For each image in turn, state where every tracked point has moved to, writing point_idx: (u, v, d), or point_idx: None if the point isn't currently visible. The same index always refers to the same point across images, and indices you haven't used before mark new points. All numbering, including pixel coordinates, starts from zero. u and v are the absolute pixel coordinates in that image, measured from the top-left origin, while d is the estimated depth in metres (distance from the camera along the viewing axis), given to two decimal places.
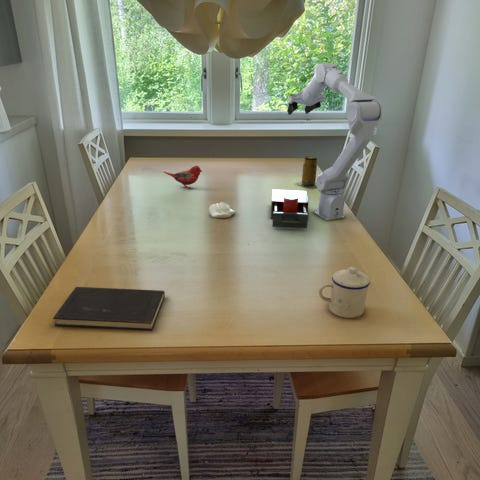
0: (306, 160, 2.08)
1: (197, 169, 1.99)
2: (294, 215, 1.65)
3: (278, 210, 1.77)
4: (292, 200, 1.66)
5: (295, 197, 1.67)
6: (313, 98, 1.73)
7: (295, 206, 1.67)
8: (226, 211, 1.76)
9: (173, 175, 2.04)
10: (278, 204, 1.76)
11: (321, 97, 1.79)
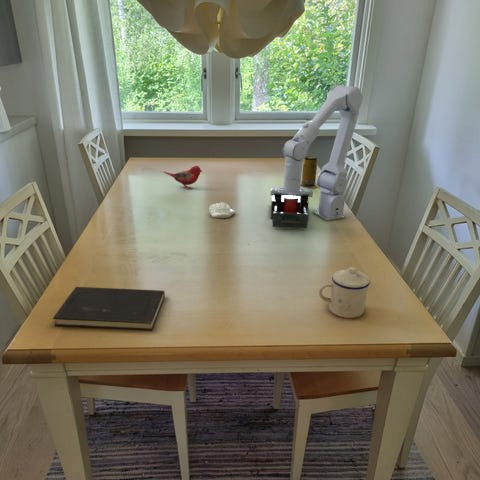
0: (306, 160, 2.08)
1: (197, 169, 1.99)
2: (294, 215, 1.65)
3: None
4: (292, 200, 1.66)
5: (295, 197, 1.67)
6: None
7: (295, 206, 1.67)
8: (226, 211, 1.76)
9: (173, 175, 2.04)
10: None
11: None
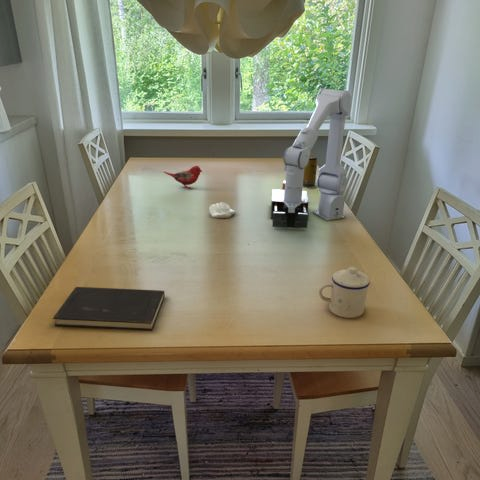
0: None
1: (197, 169, 1.99)
2: None
3: (278, 210, 1.77)
4: None
5: None
6: None
7: None
8: (226, 211, 1.76)
9: (173, 175, 2.04)
10: (278, 204, 1.76)
11: (291, 206, 1.52)
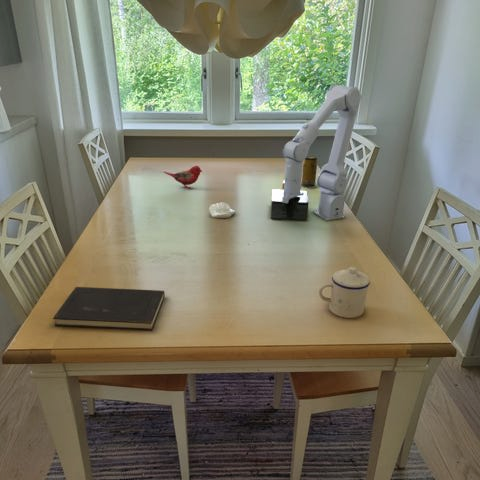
0: (306, 160, 2.08)
1: (197, 169, 1.99)
2: None
3: None
4: None
5: None
6: None
7: None
8: (226, 211, 1.76)
9: (173, 175, 2.04)
10: None
11: (285, 196, 1.61)
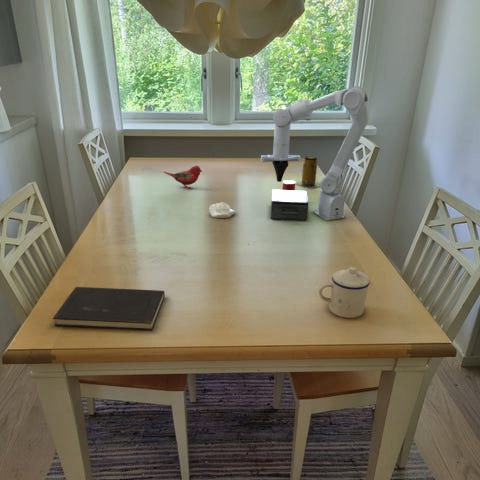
0: (306, 160, 2.08)
1: (197, 169, 1.99)
2: (293, 206, 1.72)
3: None
4: (288, 184, 1.88)
5: (292, 182, 1.89)
6: None
7: None
8: (226, 211, 1.76)
9: (173, 175, 2.04)
10: None
11: None
